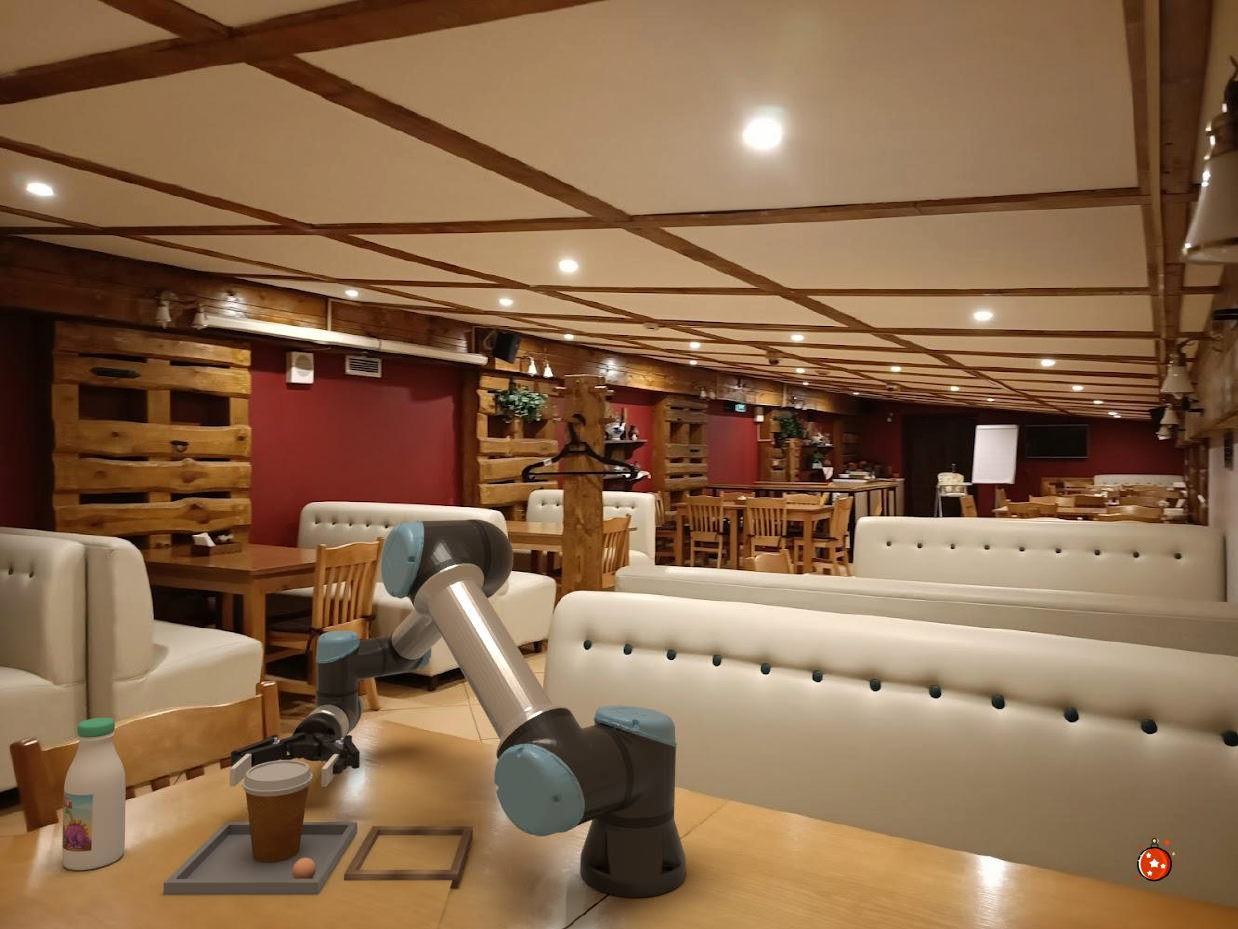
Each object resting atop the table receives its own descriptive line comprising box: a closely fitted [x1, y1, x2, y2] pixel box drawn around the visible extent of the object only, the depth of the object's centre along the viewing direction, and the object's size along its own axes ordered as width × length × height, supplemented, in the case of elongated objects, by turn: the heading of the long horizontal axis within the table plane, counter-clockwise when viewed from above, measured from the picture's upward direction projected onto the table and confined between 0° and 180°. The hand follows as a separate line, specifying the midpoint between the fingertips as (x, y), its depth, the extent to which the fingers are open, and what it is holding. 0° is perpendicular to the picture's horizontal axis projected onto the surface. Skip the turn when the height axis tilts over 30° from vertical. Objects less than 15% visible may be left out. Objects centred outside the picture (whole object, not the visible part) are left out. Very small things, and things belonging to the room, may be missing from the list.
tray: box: [163, 821, 358, 896], centre depth 121 cm, size 20×19×3 cm
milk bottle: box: [61, 717, 127, 871], centre depth 123 cm, size 8×8×20 cm
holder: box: [343, 825, 474, 890], centre depth 124 cm, size 15×15×2 cm
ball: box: [292, 858, 316, 879], centre depth 116 cm, size 3×3×3 cm
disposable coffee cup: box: [241, 759, 313, 862], centre depth 124 cm, size 10×10×12 cm
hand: (278, 777), depth 128 cm, fingers open, 13 cm apart
